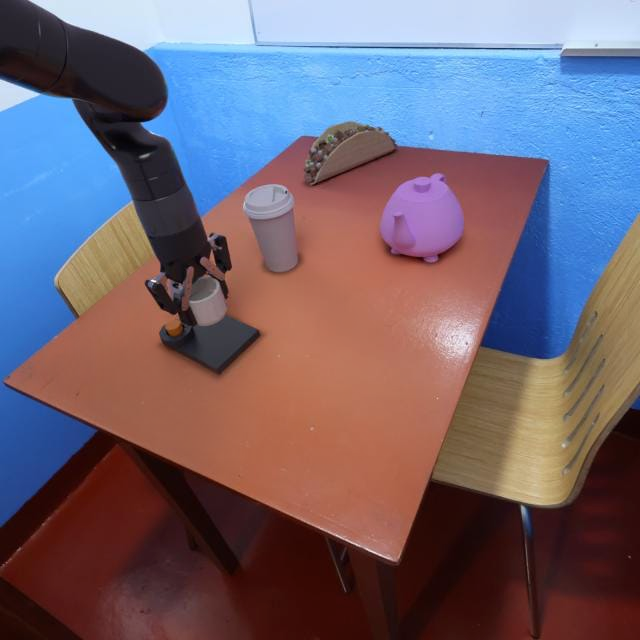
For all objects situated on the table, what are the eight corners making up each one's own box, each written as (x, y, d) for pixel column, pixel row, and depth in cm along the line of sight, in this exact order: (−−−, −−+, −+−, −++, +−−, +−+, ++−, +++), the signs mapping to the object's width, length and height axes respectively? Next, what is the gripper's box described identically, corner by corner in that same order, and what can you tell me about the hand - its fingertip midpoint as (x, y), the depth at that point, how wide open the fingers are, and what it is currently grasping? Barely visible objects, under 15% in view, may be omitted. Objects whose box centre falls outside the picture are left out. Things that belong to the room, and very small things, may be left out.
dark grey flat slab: (215, 378, 74) (210, 365, 72) (159, 346, 81) (152, 334, 79) (260, 335, 80) (256, 322, 78) (203, 309, 87) (198, 297, 85)
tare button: (175, 338, 78) (172, 331, 77) (165, 333, 79) (162, 326, 78) (186, 328, 79) (183, 322, 78) (176, 323, 81) (173, 317, 80)
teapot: (434, 290, 82) (437, 222, 73) (357, 270, 89) (350, 205, 80) (478, 226, 94) (485, 160, 85) (406, 212, 102) (406, 151, 92)
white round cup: (208, 332, 71) (198, 308, 68) (181, 319, 74) (170, 295, 71) (236, 308, 74) (227, 283, 71) (209, 296, 78) (200, 272, 74)
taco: (298, 179, 120) (291, 140, 114) (382, 144, 129) (380, 106, 122) (317, 191, 114) (311, 151, 107) (404, 154, 122) (404, 114, 115)
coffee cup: (294, 280, 90) (279, 210, 79) (250, 274, 93) (230, 206, 83) (312, 251, 96) (301, 183, 86) (271, 246, 99) (255, 180, 89)
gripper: (191, 188, 68) (222, 278, 80) (109, 239, 61) (157, 331, 72) (227, 198, 65) (255, 291, 76) (145, 254, 57) (189, 348, 68)
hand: (207, 310), depth 74 cm, fingers closed on white round cup, 6 cm apart
